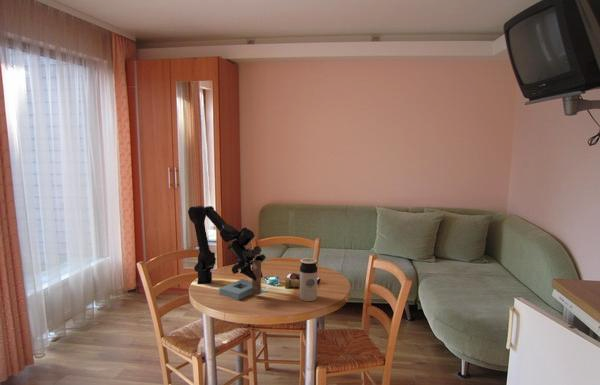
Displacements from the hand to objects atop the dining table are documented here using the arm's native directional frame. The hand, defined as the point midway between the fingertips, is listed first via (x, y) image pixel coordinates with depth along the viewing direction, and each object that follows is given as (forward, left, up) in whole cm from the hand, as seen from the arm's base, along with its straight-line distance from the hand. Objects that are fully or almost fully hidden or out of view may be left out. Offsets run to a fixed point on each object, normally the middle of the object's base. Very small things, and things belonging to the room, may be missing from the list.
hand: (258, 278), depth 174 cm
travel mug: (+22, -4, -9) cm, 25 cm away
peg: (-1, +1, -7) cm, 7 cm away
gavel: (+19, +19, -10) cm, 29 cm away
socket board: (-8, +8, -9) cm, 15 cm away
